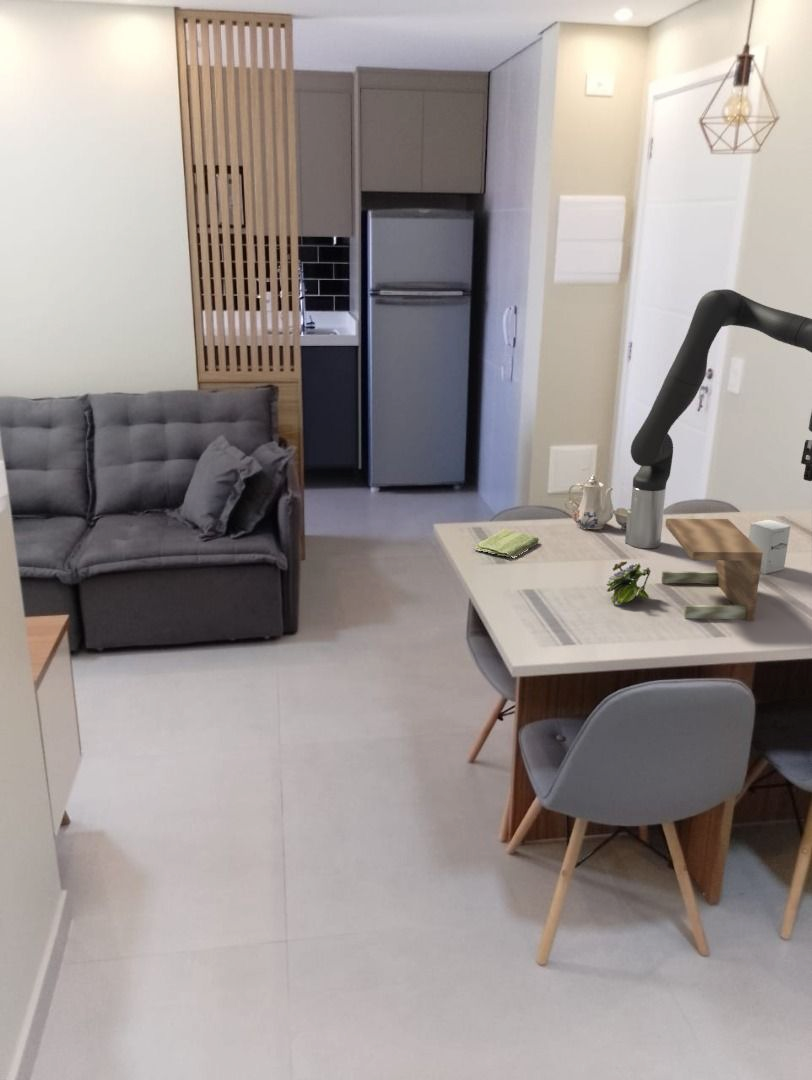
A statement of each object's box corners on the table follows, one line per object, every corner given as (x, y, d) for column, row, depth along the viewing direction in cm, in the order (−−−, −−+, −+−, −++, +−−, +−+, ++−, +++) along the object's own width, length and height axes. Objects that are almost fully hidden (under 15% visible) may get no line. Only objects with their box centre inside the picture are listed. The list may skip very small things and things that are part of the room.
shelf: (686, 620, 206) (693, 551, 201) (660, 580, 230) (666, 518, 224) (753, 620, 206) (762, 552, 200) (720, 581, 230) (728, 519, 224)
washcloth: (472, 552, 252) (472, 542, 251) (503, 536, 265) (504, 526, 264) (511, 562, 244) (512, 551, 243) (542, 545, 258) (542, 534, 257)
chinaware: (648, 532, 272) (655, 480, 268) (621, 540, 260) (628, 485, 256) (571, 514, 291) (577, 464, 286) (542, 520, 279) (548, 468, 274)
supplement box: (765, 575, 234) (771, 529, 230) (743, 566, 240) (749, 522, 236) (784, 570, 237) (791, 525, 233) (762, 561, 243) (768, 518, 239)
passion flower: (615, 613, 223) (625, 569, 226) (655, 617, 216) (664, 571, 219) (594, 600, 216) (604, 554, 218) (634, 604, 208) (644, 556, 211)
